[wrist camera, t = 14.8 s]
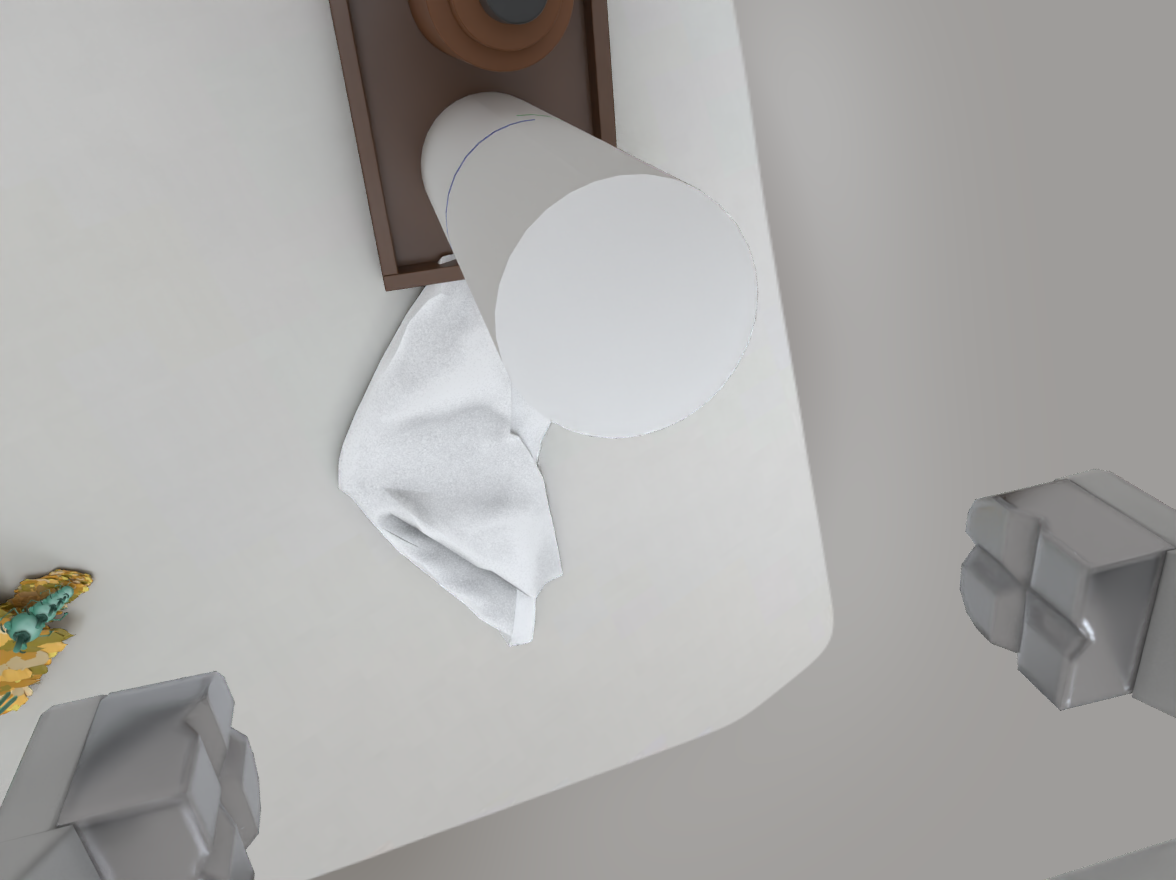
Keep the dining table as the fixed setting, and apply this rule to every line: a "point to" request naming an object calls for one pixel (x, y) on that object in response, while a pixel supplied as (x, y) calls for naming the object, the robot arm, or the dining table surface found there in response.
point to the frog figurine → (33, 632)
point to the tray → (424, 90)
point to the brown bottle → (493, 29)
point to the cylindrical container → (589, 267)
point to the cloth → (455, 463)
